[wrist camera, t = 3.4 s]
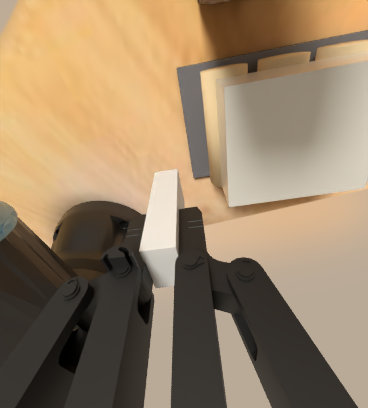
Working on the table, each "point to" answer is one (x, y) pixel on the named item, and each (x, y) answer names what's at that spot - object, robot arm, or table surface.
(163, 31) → the table surface
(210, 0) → the stone block
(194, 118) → the roller bed
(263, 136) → the slab
